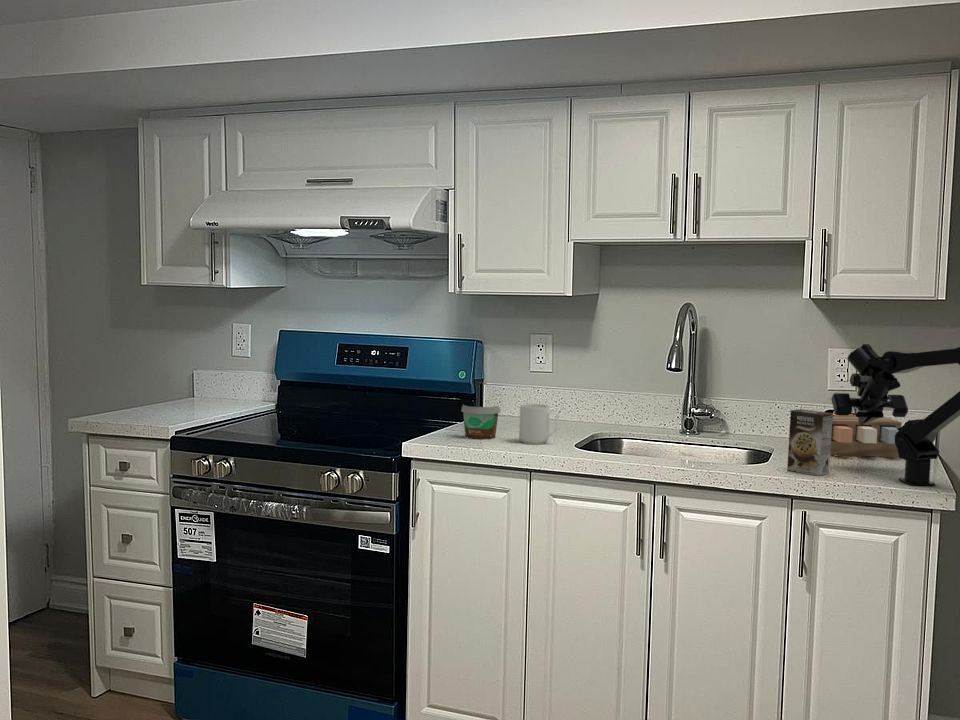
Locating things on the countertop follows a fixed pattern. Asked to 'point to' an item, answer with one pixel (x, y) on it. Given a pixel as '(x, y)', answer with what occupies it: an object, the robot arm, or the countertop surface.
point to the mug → (535, 423)
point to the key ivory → (866, 434)
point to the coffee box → (810, 442)
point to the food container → (480, 421)
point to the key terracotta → (842, 434)
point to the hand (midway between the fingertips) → (860, 423)
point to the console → (859, 447)
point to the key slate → (888, 434)
